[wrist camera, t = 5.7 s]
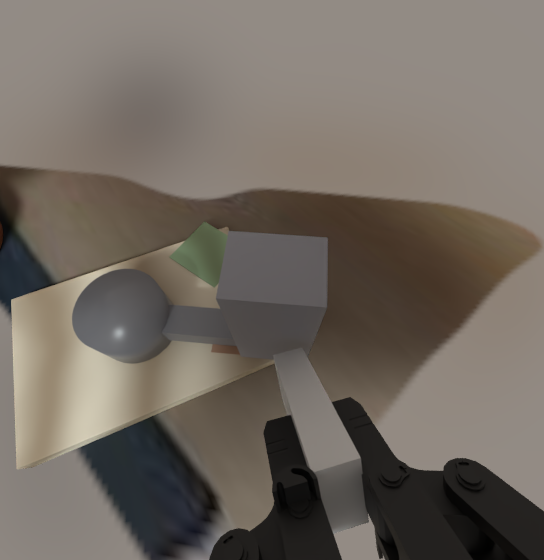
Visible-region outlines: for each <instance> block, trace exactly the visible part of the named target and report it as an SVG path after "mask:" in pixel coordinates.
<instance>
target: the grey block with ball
mask: <svg viewBox="0 0 544 560" xmlns="http://www.w3.org/2000/svg"><path fill="white" fill-rule="evenodd" d="M327 277H328V237H313V236H298V235H283V234H269V233H254V232H239V231H229V232H228V237H227V242H226V247H225V253H224V258H223V263H222V268H221V274H220V279H219V284H218V289H217V295H216V300H217V303H218V305H219V307H220V309H218V308H205V307H193V306H181V305H173V303H172V302H171V301H170V299H169V298H168V297H167V295H166V294H165V293H164V291H163V290H162V289H161V288H160V286H159V285H158V284H157V282H156V281H155V280H154V279H153V278H152V277H151V276H150V275H148V274H146V273H145V272H142V271H140V270H136V269H118V270H114V271H111V272H108V273H106V274H103V275H101V276H100V277H98V278H96V279H95V280H94V281H92V282H91V283H90V284H89V285H88V286H87V287H86V288H85V289H84V290H83V291H82V293H81V294H80V296H79V297H78V299H77V301H76V303H75V306H74V308H73V313H72V325H73V329H74V332H75V334H76V336H77V337H78V339H79V340H80V341H81V342H82V343H84V344H85V345H86V346H88V347H90V348H92V349H94V350H97V351H99V352H101V353H103V354H105V355H107V356H109V357H111V358H113V359H115V360H117V361H120V362H123V363H130V364H134V363H141V362H145V361H148V360H150V359H152V358H154V357H156V356H157V355H159V354H160V353H161V352H162V351H163V350H164V349H165V348H166V347H167V346H168V345H169V344H170V342H171V341H183V342H194V343H206V344H217V345H228V346H237V348H238V351H239V353H240V355H241V357H250V358H262V359H273V360H274V358H273V355H275V354H279V353H283V352H286V351H290V350H294V349H298V348H303V350H304V352H305V353H306V355H307V357H308V355H309V353H310V350H311V347H312V345H313V342H314V340H315V337H316V335H317V332H318V330H319V327H320V324H321V322H322V319H323V317H324V314H325V312H326V309H327Z"/></svg>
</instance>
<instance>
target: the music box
mask: <svg viewBox="0 0 544 560" xmlns="http://www.w3.org/2000/svg"><path fill="white" fill-rule="evenodd" d="M2 240H3V229H2V225H1V222H0V248H1V245H2Z"/></svg>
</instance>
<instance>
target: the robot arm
mask: <svg viewBox="0 0 544 560" xmlns="http://www.w3.org/2000/svg"><path fill="white" fill-rule="evenodd" d="M273 358H274V363H275V367H276V372H277V377H278V381H279V386H280V391H281V395H282V400H283V403H284V407H285V410H286V413H287V416H285V417H281V418H277V419H274V420H270V421H267V423H266V426H265V430H264V438H265V443H266V448H267V454H268V459H269V464H270V470H271V475H272V480H273V485H272V493H273V497H274V506H273V508H272V510H271V512H270V514H269V515H268V517H267V518H266V519H265V520H264V521H263V522H262V523H261V524H259V525H258V526H257V527H255V528H254V529H252V530H251V531H250V532H249V531H248V530H245V529H240V528H238V529H234V530H230V531H228V532H227V533H226V534H224V535H223V536H221V537H220V539H219V540H218V541H217V543H216V544H215V545H214V548H213V550H212V553H211V556H210V559H209V560H342V559H341V556H340V553H339V550H338V547H337V544H336V541H335V538H334V535H333V534H334V533H337V532H340V531H343V530H346V529H349V528H352V527H355V526H358V525H361V524H364V523H368V522H369V520H368V514H369V516H370V518H371V520H372V522H373V524H374V527H375V535H376V544H377V551H378V555H379V558H380V559H381V558H383V556H384V558H385V560H544V511H543V510H541V509H540V508H539V507H537V506H536V505H535V504H533V503H532V502H531V501H529V500H528V499H527V498H525V497H524V496H523V495H521V494H520V493H519V492H517V491H516V490H515V489H514V488H512V487H511V486H510V485H508V484H507V483H506V482H504V481H503V480H502V479H500V478H499V477H498V476H496V475H495V474H493V473H492V472H491V471H490V470H488V469H487V468H486V467H484V466H483V465H481V464H479V463H477V462H476V461H472V460H469V459H466V458H456V459H453V460H450V461H448V462H447V463H446V465H445V466H444V470H443V471H424V470H417V469H414V468H410V467H408V466H407V465H406V464H405V463H403V462H401V461H400V460H398V459H397V458H396V457H395V455H394V454H393V453H392V451H391V450H390V448H389V447H388V445H387V444H386V442H385V441H384V439H383V437H382V436H381V434H380V433H379V431H378V430H377V428H376V427H375V425H374V424H373V423H372V421H371V419H370V418H369V416H367V413H366V412H365V410H364V409H363V407H362V406H361V404H359V403H358V402H357V401H355V400H354V399H352V398H351V397H349V398H346V399H342V400H338V401H335V402H331V401H330V399H329V397H328V395H327V393H326V391H325V389H324V387H323V386H322V384H321V382H320V380H319V378H318V376H317V374H316V372H315V370H314V369H313V367H312V365H311V363H310V361H309V359H308V357H307V355H306V353H305V352H304V350H303V348H298V349H294V350H290V351H286V352H283V353H279V354H275V355H273ZM382 553H383V554H382Z"/></svg>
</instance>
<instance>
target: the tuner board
mask: <svg viewBox="0 0 544 560" xmlns="http://www.w3.org/2000/svg"><path fill="white" fill-rule="evenodd" d="M228 232H229V229H228V226H227V227H224V228H221V229H216V228H215V227H213V226H211V225H210V224H208V223H206V222H205V221H204V222H203V223H202V224H201V225H200V226H199V227H198V228H197V229H196V230H195V232H194V233H193V234H192V235H191V236H190V237H189V238H188V239H187V240H186V241H183V242H180V243H177V244H174V245H171V246H168V247H165V248H162V249H159V250H156V251H153V252H151V253H148V254H145V255H142V256H139V257H136V258H133V259H130V260H127V261H124V262H121V263H118V264H115V265H112V266H109V267H106V268H103V269H100V270H97V271H94V272H92V273H89V274H86V275H83V276H80V277H77V278H74V279H71V280H68V281H65V282H62V283H59V284H56V285H53V286H50V287H47V288H44V289H41V290H38V291H35V292H33V293H30V294H27V295H24V296H21V297H18V298H15V299H12V300H11V307H12V337H13V369H14V399H15V431H16V460H17V461H16V464H17V469H24V468H32V467H35V466H37V465H39V464H42V463H44V462H46V461H49V460H51V459H53V458H56V457H58V456H60V455H63V454H65V453H67V452H70V451H72V450H74V449H77V448H79V447H81V446H84V445H86V444H88V443H91V442H93V441H95V440H98V439H100V438H102V437H105V436H107V435H109V434H112V433H114V432H116V431H119V430H121V429H123V428H126V427H128V426H130V425H133V424H135V423H137V422H140V421H142V420H144V419H147V418H149V417H151V416H154V415H156V414H158V413H161V412H163V411H165V410H168V409H170V408H172V407H175V406H177V405H179V404H182V403H184V402H186V401H189V400H191V399H193V398H196V397H198V396H200V395H203V394H205V393H207V392H210V391H212V390H214V389H217V388H219V387H221V386H224V385H226V384H228V383H231V382H233V381H235V380H238V379H240V378H242V377H245V376H247V375H249V374H252V373H254V372H256V371H259V370H261V369H263V368H266V367H268V366H270V365H273V364H275V363H274V360H273V359H262V358H250V357H241V355H240V353H239V351H238V348H237V346H228V345H217V344H206V343H194V342H183V341H171V342H170V344H169V345H168V346H167V347H166V348H165V349H164V350H163V351H162V352H161V353H160V354H159V355H157V356H156V357H154V358H152V359H150V360H148V361H145V362H141V363H134V364H130V363H123V362H120V361H117V360H115V359H113V358H111V357H109V356H107V355H105V354H103V353H101V352H99V351H97V350H94V349H92V348H90V347H88V346H86V345H85V344H84V343H82V342H81V341H80V340H79V339H78V337H77V336H76V334H75V332H74V329H73V325H72V313H73V308H74V306H75V303H76V301H77V299H78V297H79V296H80V294H81V293H82V291H83V290H84V289H85V288H86V287H87V286H88V285H89V284H90V283H91V282H92V281H94V280H95V279H96V278H98V277H100V276H101V275H103V274H106V273H108V272H111V271H114V270H118V269H136V270H140V271H142V272H145V273H146V274H148V275H150V276H151V277H152V278H153V279H154V280H155V281H156V282H157V284H158V285H159V286H160V288H161V289H162V290H163V291H164V293H165V294H166V295H167V297H168V298H169V299H170V301H171V302H172V303H173V305H181V306H193V307H205V308H218V309H220V307H219V305H218V303H217V300H216V295H217V289H218V284H219V279H220V274H221V268H222V263H223V258H224V253H225V247H226V242H227V237H228Z"/></svg>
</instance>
